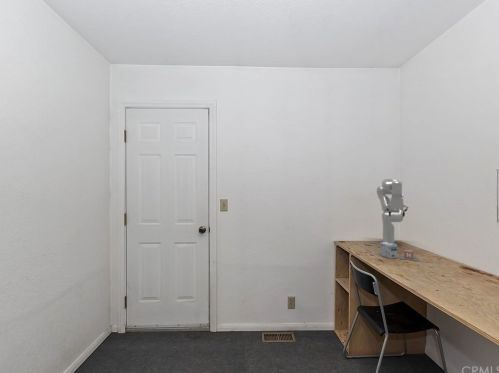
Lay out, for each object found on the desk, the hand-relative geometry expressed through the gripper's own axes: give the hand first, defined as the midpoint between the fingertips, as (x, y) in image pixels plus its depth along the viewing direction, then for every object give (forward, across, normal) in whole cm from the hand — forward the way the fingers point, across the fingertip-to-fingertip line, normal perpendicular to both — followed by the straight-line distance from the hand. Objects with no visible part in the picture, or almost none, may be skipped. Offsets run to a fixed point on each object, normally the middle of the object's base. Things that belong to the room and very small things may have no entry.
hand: (396, 216), depth 230 cm
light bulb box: (+31, +6, +18) cm, 36 cm away
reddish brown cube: (+30, -8, +16) cm, 35 cm away
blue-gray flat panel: (+30, -8, +16) cm, 35 cm away
